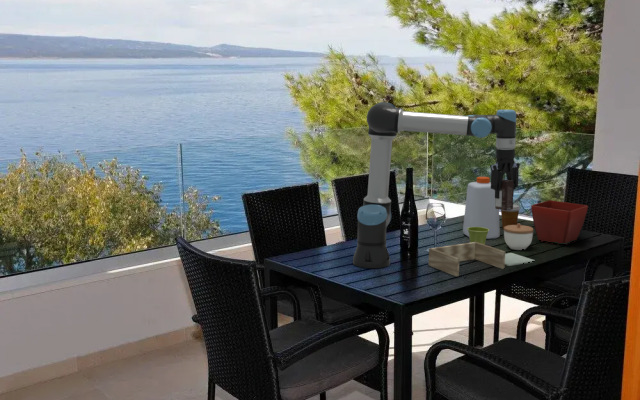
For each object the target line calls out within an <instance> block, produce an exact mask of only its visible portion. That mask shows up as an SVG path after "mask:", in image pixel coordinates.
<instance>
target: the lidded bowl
mask: <svg viewBox="0 0 640 400" xmlns="http://www.w3.org/2000/svg"><path fill="white" fill-rule="evenodd" d="M534 230H535V228H533V227H531V226H529V225H522V224H521V223H518V222H517V225H508V226H505V227H504V230H503V237H504V242H505V243H506V245H507V246H508V247H509V249H510V250H516V251H522V249H524V250H526V249H527V248H528V247H529V246H530V245H531V243H532V241H533V236H534Z"/></svg>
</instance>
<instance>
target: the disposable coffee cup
mask: <svg viewBox="0 0 640 400" xmlns="http://www.w3.org/2000/svg"><path fill="white" fill-rule="evenodd" d="M520 210H521V208H520V205H518V204H514V203H513V209H512V210H508V211H506V210H501V209H500V213H501V214H500V215H501V226H502V230H503V231H504V227H505V226H508V225H517V224H518V218H519V214H520Z"/></svg>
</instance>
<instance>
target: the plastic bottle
mask: <svg viewBox="0 0 640 400" xmlns="http://www.w3.org/2000/svg"><path fill="white" fill-rule="evenodd" d="M466 189H467V190H466V198H465V207H464V209H465V210H464V217H463V226H462V233H463V235H466V237H468V238H469V232H468V230H467V228H469V227H483V228H487V229H489V231H488V234H487V237H486V240H491V239H492V240H493V239H498V238H499V237H500V235H501V233H500V232H501V229H500V227H501V226H500V209H495V199H496V198H495V190H493V189H491V177H489V176H478V177H476V181H473V182H472V181H471V182H469V183H467V187H466Z"/></svg>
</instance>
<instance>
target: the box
mask: <svg viewBox="0 0 640 400" xmlns="http://www.w3.org/2000/svg"><path fill="white" fill-rule="evenodd" d="M500 191H502V207H498V206H496V199H495V209H499V210H500V211H501V210H506V211H508V210H512V209H513V204H514V196H513V180H507V179H506V178H505V179H504V178H503V180H502V185H501V189H500Z"/></svg>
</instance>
